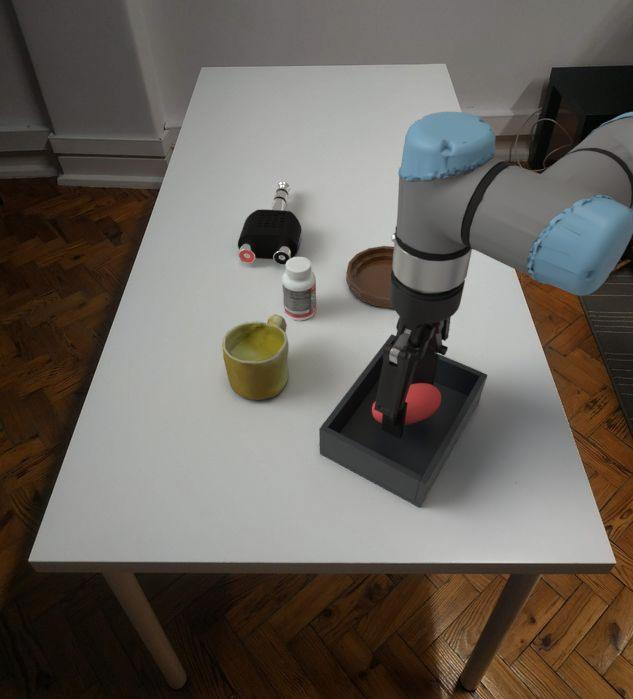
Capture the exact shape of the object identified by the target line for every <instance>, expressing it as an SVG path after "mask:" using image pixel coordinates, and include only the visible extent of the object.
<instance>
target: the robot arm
mask: <svg viewBox="0 0 633 699" xmlns="http://www.w3.org/2000/svg"><path fill="white" fill-rule="evenodd" d="M495 154H496V132H495V129H494V128H493V126H492V125H491V124H490V123H488V122H485V120H484V119H483V118H482V117H480V116H477V115H474V114H472V113H468V112H461V111H439V112H433V113H429V114H427V115H424V116H423V117H421V118H420V119H417V120H415V121H414V122H413V123H412V124H410V126H409V128H408V129H407V131H406V134H405V136H404V143H403V151H402V156H401V163H400V167H399V168H398V173H397V174H398V194H397V216H396V226H395V231H394V233H393V234H392V235H391V237H390V238H391V242H392V243H393V247H394V253H393V263H392V272H391V280H390V291H389V299H390V303H391V305H392V307H393V310H394V311H395V312H396V314H397V315H398V316H399V317H398V319H397V323H396V335H395V336H396V337H395V341H394V344H393V345H391V344H389V343H387V344H386V345H385V346H384V348H383V365H382V370H381V376H380V381H379V386H378V392H377V397H376V402H375V408H374V409H375V410H376V411H378V412H380V413H383V417H382V427H381V430H383V431H385V432H387V433H389V434H391V435H393V436H395V437H397V438H399V439H401V437H402V435H403V431H404V424H405V418H406V411H407V404H408V403H407V402H405V400H406V397H407V394H408V391H409V387H410V384H411V381H412V378H413V381H412V384H417V383H427V384H431V385H433V384H434V379H435V374H436V368H437V363H438V358H439V355H437V353H438V354H440V355H442V356H446V354H447V352H448V349H449V346H446V345H444V344H443V342H446V341H447V339H449V334H450V327H451V326H450V325H451V318H452V317H453V316H454V315H455V314H456V312H457V311H458V310H459V308H460V306H461V301H462V297H463V292H464V287H465V282H466V278H467V276H468V271H469V267H470V261H471V257H472V252H473V250H474V251H476V252H479V253H481V254H483V255H485V256H487V257H489V258H491V259H493V260H495V261H497V262H499V263H501V264H503V265H505V266H507V267H509V268H512V269H514V270H516V271H517V272H520V273H521V274H523V275H525V276H528V277H530V278H531V279H532V280H533V281H535V282H537V283H539V284H541V283H542V284H544V285H549V286H552V287H555V288H558V289H560V290H562V291H565V292H567V293H570V294H572V295H575V296H579V297H580V296H581V297H583V296H588V295H590V294H593V293H595V291H597V290H598V289H599V288H600V287H602V285H603V284H604V283H605V282H606V281H607V279H608V278H609V275H610V274H611V272H612V271H613V270H614V269H615V268H616V266H617V265H618V263H619V261H620V260H621V258H622V256H623V255H624V253H625V251H626V249H627V247H628V245H629V243H630V241H631V240H632V236H633V111H629V112H625V113H622V114H620V115H618V116H616V117H614V118H612V119H610V120H607V121H606V122H603V123H601V125H599V126H598V127H597V128H595V129H593V130H592V131H591V132H590V133H589V134H588V135H587V136H586V137H585V139H583V140H581V142H579V143H578V144H577V145H576V146H575V147H574V148H571V150H569V152H567V153H565V155H563V156H562V157H561V158H560V159H558V160H557V161H556V162H554V163H553V164H552V165H550V166H549V167H548V168H547V169H545V170H544V171H543V172H541V173H538V172H536V171H532V170H530V169H527V168H524V167H521V166H518V165H517V164H513V163H510V162H508V161H506V160H503V159H501V158H498V157H496V156H495ZM407 345H408V346H410V347H413V348H419V349H418V351H417V350H415V349H412V348H410V347H407Z"/></svg>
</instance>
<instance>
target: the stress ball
mask: <svg viewBox="0 0 633 699" xmlns="http://www.w3.org/2000/svg"><path fill="white" fill-rule="evenodd" d="M375 402H376V401H375ZM375 402H374V404H373V406H372V414H373V417H374V418H375V420H377V421H378V422H380V423H382V417H383V413H380V412H378V411H376V410H375V409H374V408H375ZM405 402H407V403H408V404H407V411H406V418H405V424H404V425H408V424H412V423H416V422H419V421H422V420H424V419H426V418H428V417H430V416H431V415H433V414H434V413H435V412H436V411H437V410H438V408H439V407H440V404H441V393H440V391H439V390H438V389H437V388H436V387H435V386H433V385H431V384H427V383H417V384H412V385H410V387H409V391H408V394H407V397H406V400H405Z"/></svg>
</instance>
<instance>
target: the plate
mask: <svg viewBox="0 0 633 699" xmlns="http://www.w3.org/2000/svg"><path fill="white" fill-rule="evenodd" d="M393 253H394V246H390V245H380V246H374V247H369V248H367V249H364V250H362V251H360V252H357V253H356V254H355V255H354V256H353V257H352V258H351V259H350V260H349V261H348V264H347V268H346V277H345V281H346V284H347V287H348V289H349V291H350V292H351V293H352V294H353V295H354V296H355V297H356V298H358V299H359V300H360V301H361V302H365V303H367V304H370V305H372V306H373V307H381V308H389V309H391V308H393V307H392V305H391V303H390V299H389V291H390V280H391V272H392V263H393ZM393 309H394V308H393Z"/></svg>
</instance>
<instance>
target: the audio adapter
mask: <svg viewBox="0 0 633 699" xmlns="http://www.w3.org/2000/svg"><path fill="white" fill-rule="evenodd" d="M290 191H291V186H290V184H289V183H288V182H286V181H280V182H279V183H277V186H276V189H275V192H274V196H273V199H272V203H271V205H270V209H256V210H254V211H253V212H251V213H250V214H249V215H248V216H247V217H246V219H245V220H244V223H243V226H242V229H241V231H240V235H239V238H238V241H237V248H238V250H239V251H238V253H237V254H238V258H239V260H240V261H241V262H242V263H245V264H252V263H253V262H254V261H255V260H256V259H263V260H264V259H267V260H273V261H274V262H275V263H276V264H278V265H280V266H286V262H287V261H288V260H289V259H291V258H293V257H296V255H297V253H298V249H299V245H300V240H301V236H302V230H303V229H302V225H301V222H300V221H299V219H298V217H297V216H296V215H295V214H294V213H293V211H291V210H286V207H287V204H288V199H289V195H290Z"/></svg>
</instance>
